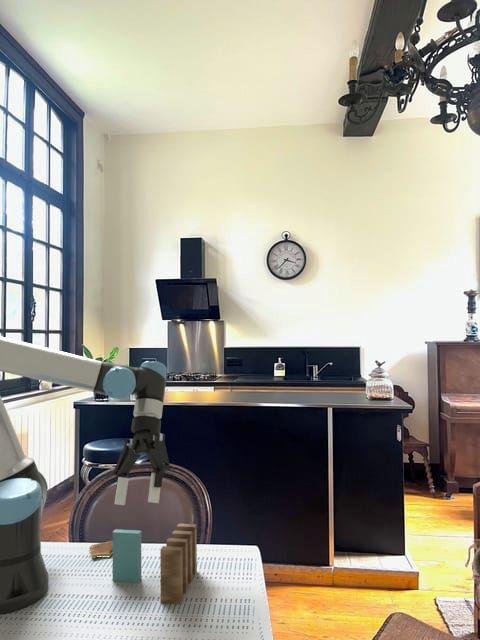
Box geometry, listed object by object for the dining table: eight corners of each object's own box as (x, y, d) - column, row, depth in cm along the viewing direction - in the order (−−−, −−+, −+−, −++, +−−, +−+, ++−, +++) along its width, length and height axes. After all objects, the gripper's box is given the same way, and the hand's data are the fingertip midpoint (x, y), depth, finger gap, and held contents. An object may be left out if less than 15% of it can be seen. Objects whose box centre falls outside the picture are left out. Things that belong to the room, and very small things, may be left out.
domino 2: (177, 573, 106) (176, 526, 106) (179, 570, 107) (178, 523, 108) (195, 574, 105) (194, 527, 105) (196, 571, 106) (196, 524, 107)
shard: (129, 542, 123) (129, 535, 124) (135, 553, 117) (135, 546, 117) (88, 550, 119) (88, 544, 119) (92, 563, 112) (92, 556, 112)
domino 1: (112, 580, 103) (112, 532, 103) (115, 577, 104) (115, 529, 105) (138, 582, 102) (138, 533, 102) (141, 578, 103) (141, 530, 104)
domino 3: (172, 582, 102) (171, 533, 102) (174, 578, 103) (173, 530, 104) (190, 583, 101) (190, 534, 101) (192, 580, 102) (192, 531, 103)
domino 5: (160, 602, 94) (160, 549, 94) (163, 598, 95) (162, 546, 96) (180, 604, 93) (180, 550, 94) (182, 599, 95) (182, 547, 95)
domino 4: (166, 592, 98) (166, 541, 98) (168, 588, 99) (168, 537, 100) (185, 593, 97) (185, 542, 98) (187, 589, 99) (187, 539, 99)
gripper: (189, 414, 114) (181, 503, 104) (130, 427, 129) (118, 506, 119) (166, 407, 109) (156, 499, 99) (108, 422, 124) (94, 503, 114)
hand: (135, 503), depth 109 cm, fingers open, 13 cm apart
